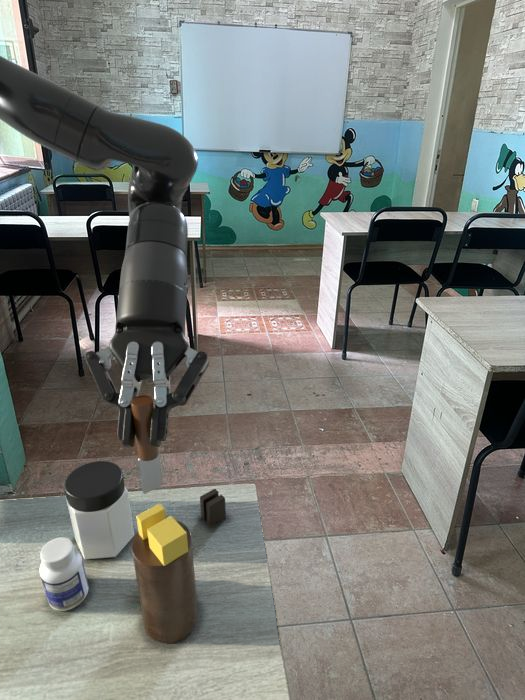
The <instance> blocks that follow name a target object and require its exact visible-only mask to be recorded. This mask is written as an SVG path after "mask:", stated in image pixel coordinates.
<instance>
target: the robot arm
mask: <svg viewBox="0 0 525 700" xmlns="http://www.w3.org/2000/svg"><path fill="white" fill-rule="evenodd" d="M0 121H2V122H3V123H5V124H6V125H8V126H9V127H10V128H12V129H13V130H14V131H16V132H18V133H20V134H21V135H23V136H24V137H26V138H28V139H29V140H31V141H33V142H34V143H37V144H38V145H39V146H42V147H44V148H46V149H48V150H49V151H52V152H54V153H56V154H58V155H60V156H63V157H64V158H66V159H68V160H71V161H72V162H74V163H78V164H79V165H81V166H84V167H86V168H88V169H91V170H93V171H97V172H100V171H104V170H106V169H107V168H108V167H109V166H110V165H111V163H112V162H113V161H114V162H115V161H116V162H120V163H124V164H129V165H131V166H132V168H131V171H130V175H129V181H128V192H127V201H128V203H127V206H128V216H129V218H128V219H129V221H128V225H127V233H126V242H125V252H124V258H123V261H122V265H121V270H120V276H119V277H120V278H119V279H120V280H119V288H118V297H117V298H118V299H117V309H116V316H115V317H116V318H115V329H114V330H115V331H114V334H113V336H112V338H111V339H110V341H109V344H108V346H107V347H105V348H103V349H101V350H99V351H97V352H95V351H93V350H89V351H87V352H86V353H85V355H84V359H85V362H86V365H87V366H88V368H89V371H90V373H91V375H92V377H93V380H94V382H95V384H96V387H97V389H98V391H99V393H100V396H101V398H102V399H103V400H104V401H105V402H106V403H107V404H109V405H110V406H114V407H115V408H116V407H117V408H118V419H117V432H116V435H117V438H118V440H119V441H121V444H122V446H124V447H126V448H133V447H135V442H136V437H135V429H134V422H133V415H132V408H131V400H132V399H133V398H135V397H137V396H139V393H140V391H141V389H142V383H143V381H144V380H148V379H150V380H152V383H153V388H154V389H153V390H154V408H152V421H151V435H150V445H151V446H153V447H158V448H161V446H162V442H166V440H167V438H168V436H169V435H168V433H169V417H170V416H169V415H170V411H171V410H172V409H174V408H176V407H183V406H185V405H187V402H189V400H190V398H191V396H192V395H193V393H194V391H195V389H196V388H197V386H198V384H199V382H200V381H201V379H202V378H203V376H204V374H205V372H206V371H207V369H208V367H209V365H210V361H209V360H210V359H209V357H208V355H207V352H205V351H202V350H201V351H197V350H195V349H193V348H191V347H190V346H189V343H188V340H187V338H186V320H187V301H188V299H187V298H188V293H189V285H188V284H189V282H188V281H189V280H188V279H189V276H188V274H189V273H188V263H187V262H188V261H187V256H188V239H189V231H188V229H189V228H188V222H187V219H186V217H185V215H184V213H183V212H182V204H183V200H184V199H183V198H184V195H185V193H186V191H188V188H189V186H190V184H191V182H192V180H193V178H194V176H195V174H196V172H197V170H198V167H199V166H198V165H199V157H198V154H197V152H196V149H195V148H194V146H193V144H192V143H191V142H190V140H189V139H187V137H185V135H183V134H181V132H179V131H178V130H176V129H174V128H172V127H170V126H168V125H165V124H163V123H158V122H155V121H151V120H146V119H142V118H139V117H135V116H131V115H127V114H122V113H117V112H113V111H110V110H109V109H106V108H105V107H103V106H101V105H99V104H97V103H95V102H93V101H91V100H89V99H88V98H86V97H84V96H81V95H80V94H78V93H76V92H74V91H72V90H71V89H68V88H66V87H64V86H62V85H60V84H58V83H56V82H54V81H53V80H50V79H49V78H46V77H44V76H42V75H40V74H37V73H35V72H34V71H31V70H29V69H28V68H25V67H23V66H21V65H19V64H17V63H15V62H13V61H12V60H9V59H7V58H5V57H4V56H1V55H0ZM185 357H186V360H185V367H186V371H185V372H184V374H183V376H182V378H180V381H179V382H178V384H177V386H176V387H175V389H174V391H172V392H171V375H172V374H173V372H174V371H175V370H176V369H177V367H178V366H179V365H180V364H181V363H182V361H183V360H184V359H185ZM113 358H114V359H115V360H116V362H117V363H118V365H119V366H120V368H121V369H122V375H121V382H120V384H121V387H120V392H119V393H118V391H117V389H116V386H115V385H114V383H113V380H112V378H111V376H110V373H109V370H110V369H111V368H112V359H113Z"/></svg>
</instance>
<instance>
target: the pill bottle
mask: <svg viewBox="0 0 525 700" xmlns="http://www.w3.org/2000/svg"><path fill="white" fill-rule="evenodd" d="M39 555H40V561H41V563H40V565H39V570H38V571H39V576H40V580H41V583H42V587H43V589H44V592H45V596H46V599H47V602H48V604H49V606H50V607H51V608H52V609H53V610H54V611H59V612H67V611H70V610H73V609H75V608H76V607H78V606H79V605H80V604H82V602H83V601H84V600H85V599H86V597H87V595H88V592H89V581H88V577H87V573H86V570H85V565H84V561H83V556H82V553H81V552H80V551H79V550H78V549H76V548H75V547H74V544H73V541H72V540H71V539H69V538H67V537H61V536H60V537H55V538H53V539H51V540H49V541H48V542H46V543H45V544H44V545H43V547H42V548H41V550H40V553H39Z"/></svg>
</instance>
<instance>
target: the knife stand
mask: <svg viewBox="0 0 525 700" xmlns="http://www.w3.org/2000/svg"><path fill="white" fill-rule="evenodd" d="M199 504H200V506H199V507H200V518H201V519H202V520H203V521H204V522H205V521H207V525H208V526H209V527H210V528H212V527H214V526H215V525H217V524H219V523H221V522H222V521H225V520H226V519H227V514H226V497H225V496H224V495H223V494H220V495H219V490H218V489H217V488H212V489H210V491H208V492H206V493H204V494H202V495H200V496H199Z"/></svg>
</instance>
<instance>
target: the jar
mask: <svg viewBox="0 0 525 700" xmlns="http://www.w3.org/2000/svg"><path fill="white" fill-rule="evenodd" d="M124 479H125V478H124V472H123V470H122V468H121V467H120V466H119V464H116V463H114V462H113V461H112V462H111V461H108V460H95V461H91V462H87V463H84V464H82V465H79V466H78V467H77V468H74V469H73V470H72V471H71V472H70V473H69V474H68V475H67V477H66V478H65V481H64V485H63V486H64V487H63V488H64V497H65V500H66V505H67V510H68V513H69V517H70V518H69V519H70V522H71V527H72V531H73V536H74V539H75V542H76V544H77V547H78V549H79V550H80V551H79V552H80V554H81V556H82V558H83V559H84V560H94V559H95V560H96V559H108V558H116V557H117V556H118V555H119V554H120V553H121V551H122V550H123V549H124V548H125V547H126V545H128V544H129V542H130V541H131V540H133V539H134V537H135V529H134V522H133V515H132V510H131V505H130V503H131V502H130V497H129V490H128V489H127V487H126V485H125V480H124Z"/></svg>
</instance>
